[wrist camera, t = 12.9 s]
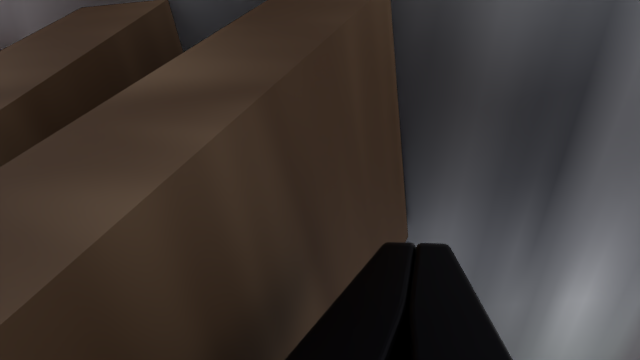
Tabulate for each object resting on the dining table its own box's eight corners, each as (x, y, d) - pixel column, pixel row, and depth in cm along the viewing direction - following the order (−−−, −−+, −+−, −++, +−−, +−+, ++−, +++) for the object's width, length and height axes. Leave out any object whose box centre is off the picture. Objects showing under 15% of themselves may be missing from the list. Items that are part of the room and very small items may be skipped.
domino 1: (167, -1, 11) (-313, 316, 4) (231, 222, 14) (13, 619, 7) (81, 7, 11) (-472, 302, 5) (161, 221, 14) (-105, 589, 8)
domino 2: (389, -17, 9) (-53, 371, 3) (408, 236, 12) (194, 689, 6) (287, -13, 10) (-218, 303, 4) (327, 223, 13) (70, 612, 7)
